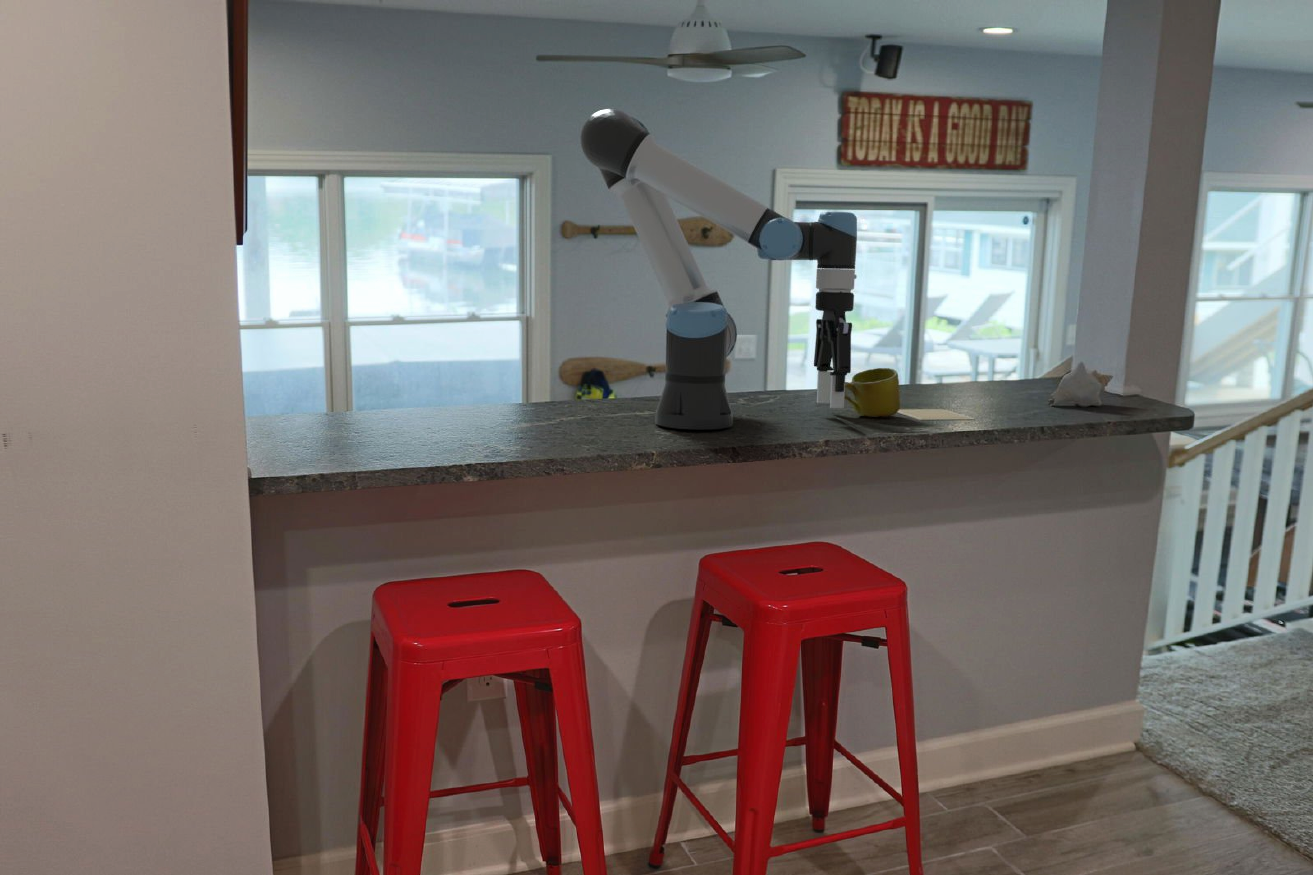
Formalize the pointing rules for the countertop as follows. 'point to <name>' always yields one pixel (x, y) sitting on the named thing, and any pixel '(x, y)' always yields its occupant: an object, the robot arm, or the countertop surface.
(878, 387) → the mug
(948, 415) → the mat
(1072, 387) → the seashell
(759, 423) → the countertop surface
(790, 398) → the countertop surface
